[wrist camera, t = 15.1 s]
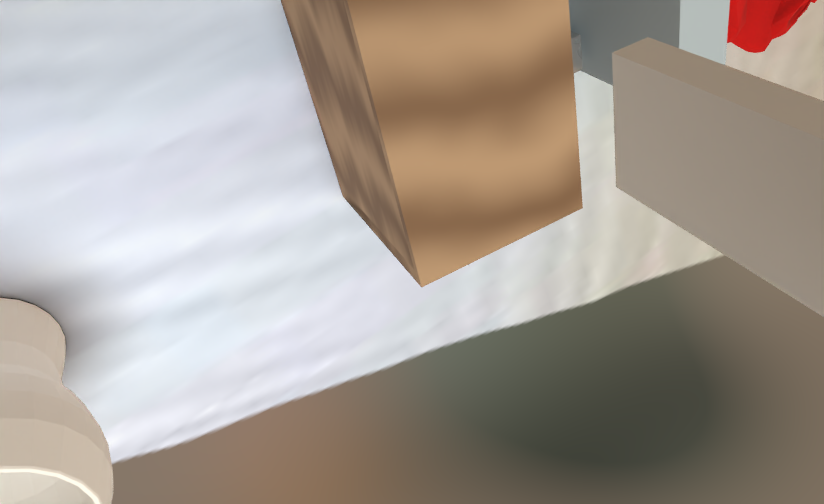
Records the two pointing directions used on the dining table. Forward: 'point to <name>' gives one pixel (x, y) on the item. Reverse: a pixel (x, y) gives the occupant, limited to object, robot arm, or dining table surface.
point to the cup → (45, 418)
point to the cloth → (762, 21)
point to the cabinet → (445, 119)
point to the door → (647, 28)
